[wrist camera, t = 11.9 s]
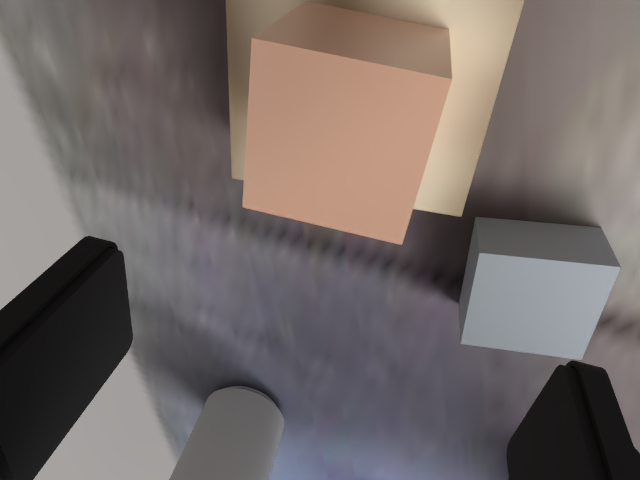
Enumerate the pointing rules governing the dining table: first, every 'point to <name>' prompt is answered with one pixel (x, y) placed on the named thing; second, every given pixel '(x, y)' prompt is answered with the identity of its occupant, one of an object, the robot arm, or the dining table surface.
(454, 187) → the beech block
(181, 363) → the dining table surface
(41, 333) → the robot arm
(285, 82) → the terracotta cube
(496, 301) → the slate block
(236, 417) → the can
